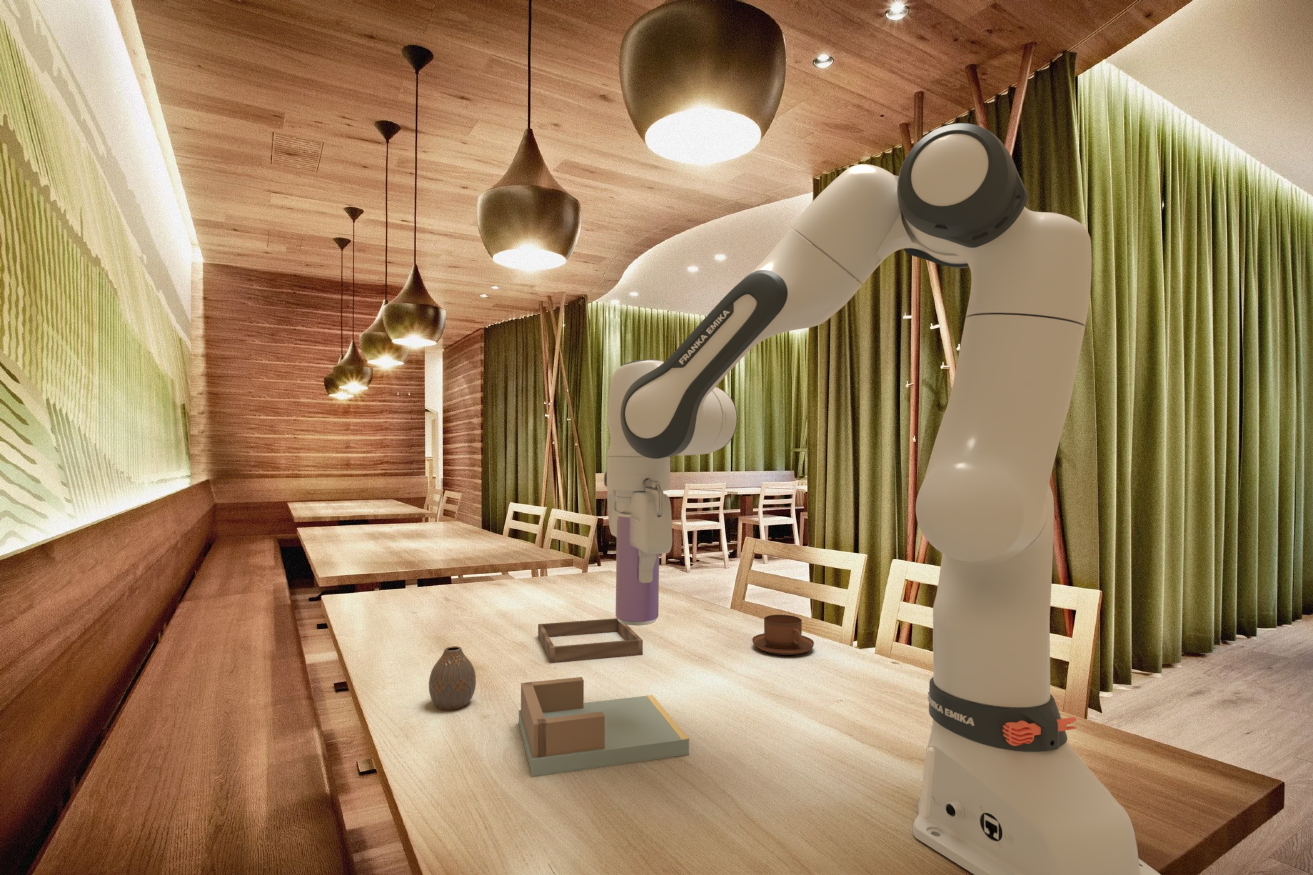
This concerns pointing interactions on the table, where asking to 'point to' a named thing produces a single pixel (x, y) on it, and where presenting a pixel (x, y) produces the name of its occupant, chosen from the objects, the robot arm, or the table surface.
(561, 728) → the dock
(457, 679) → the vase
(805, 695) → the table surface
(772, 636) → the cup and saucer
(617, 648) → the serving tray frame
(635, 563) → the beverage can
